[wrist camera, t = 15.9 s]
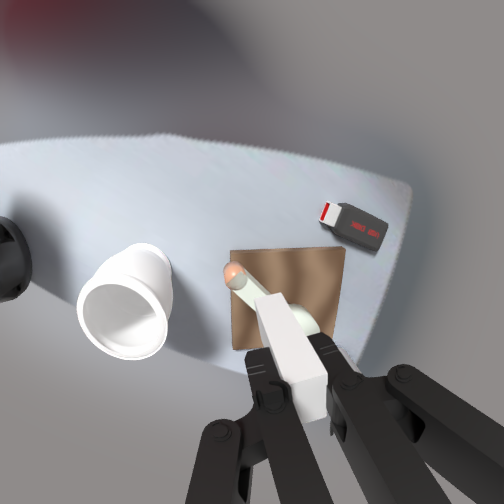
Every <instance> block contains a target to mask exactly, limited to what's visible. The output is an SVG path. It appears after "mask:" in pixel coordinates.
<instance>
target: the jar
mask: <svg viewBox="0 0 504 504" xmlns="http://www.w3.org/2000/svg"><path fill="white" fill-rule="evenodd" d="M171 275H172V271H171V265H170V262H169V260H168V258H167V257H166V255H165V254H164V253H163V252H162V251H161V250H160V249H158V248H157V247H155V246H153V245H150V244H145V243H139V244H134V245H132V246H130V247H128V248H127V249H126V250H124V251H122V252H120V253H118V254H116V255H114V256H112V257H111V258H109V259H108V260H107V261H105V262H104V263H103V264H102V265H101V266H100V268H99V269H98V270H97V271H96V273H95V275H94V276H93V278H92V279H90V280H89V281H88V282H87V283H86V284H85V285H84V286H83V288H82V290H81V292H80V294H79V296H78V300H77V316H78V319H79V323H80V325H81V327H82V329H83V331H84V333H85V334H86V336H87V337H88V338H89V339H90V340H91V341H92V343H94V344H95V345H96V346H97V347H98V348H99V349H101V350H102V351H104V352H106V353H107V354H109V355H112V356H114V357H117V358H121V359H126V360H138V359H143V358H147V357H149V356H151V355H153V354H154V353H156V352H157V351H158V350H159V349H160V348H161V347H162V345H163V344H164V342H165V339H166V336H167V330H168V319H169V317H170V314H171V310H172V305H173V287H172V280H171Z"/></svg>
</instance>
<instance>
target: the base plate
mask: <svg viewBox="0 0 504 504" xmlns="http://www.w3.org/2000/svg"><path fill="white" fill-rule="evenodd" d="M345 251H346V249H345V248H343V247H342V246H339V247H312V248H284V249H257V250H231V251H230V262H232V261H236V262H239V263H241V264H242V266H243V267H244V268H245V269H246V270H247V271H248V272H249V273H250V274H251V275H252V276H253V277H254V278H255V279H256V280H257V281H258V282H259V283H260V284H261V285H262V286H263V287H264V288H265V289H266V290H267V291H268V292H269V293H270V294H271V295H272V294H276V293H280V292H281V293H282V295H283V297H284V298H285V300H286V301H288V302H289V303H290V304H299V305H302V306H304V307H305V308H306V309H307V310H308V311H309V313H310V314H311V316H312V317H313V319H314V320H315V322H316V323H317V324H318V326H319V328H320V332H323V333H325V334H326V335H328V336H330V337H331V339H332V337H333V332H334V327H335V321H336V315H337V309H338V303H339V296H340V290H341V283H342V275H343V268H344V260H345ZM231 322H232V347H233V350H239V349H251V348H262V347H264V346H263V343H262V340H261V335H260V330H259V325H258V319H257V314H256V311H255V310H253V309H252V308H251V307H250V306H249V305H248V304H247V303H246V302H245V301H243V300H242V299H241V298H240V297H239V296H238V295H237V294H236V293H235V292H234V291H232V290H231Z"/></svg>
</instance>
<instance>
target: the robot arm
mask: <svg viewBox="0 0 504 504" xmlns="http://www.w3.org/2000/svg"><path fill="white" fill-rule="evenodd" d="M31 273H32V264H31V257H30V252H29V249H28V246H27V243H26V241H25V239H24V237H23V235H22V233H21V231H20V230H19V229H18V227H17V226H16V225H15V224H14V223H13V222H12V221H10V220H9V219H7V218H5V217H2V216H0V303H2V302H6V301H9V300H13V299H15V298H17V297H18V296H19V295H20V294H22V293H23V292H24V291H25V290H26V289H27V287H28V285H29V283H30V279H31ZM254 303H255V308H256V314H257V319H258V325H259V330H260V335H261V340H262V343H263V346H264V348H261V349H257V350H252V351H248V352H247V354H246V357H245V359H244V360H245V365H246V369H247V373H248V378H249V382H250V386H251V391H252V398H253V401H254V404H253V408H252V409H251V411H250V412H249V413H248V414H247V415H245V416H244V417H242V418H241V419H238V420H236V421H232V420H228V419H219V420H215V421H213V422H211V423H210V424H208V425H207V426H206V427H205V428H204V431H203V432H202V436H201V440H200V444H199V448H198V452H197V457H196V461H195V465H194V469H193V473H192V477H191V481H190V485H189V489H188V493H187V497H186V502H185V504H250V495H251V485H252V474H253V465H255V464H257V463H259V462H261V461H263V460H265V459H267V458H268V460H269V463H270V467H271V471H272V475H273V478H274V482H275V485H276V489H277V492H278V496H279V499H280V503H281V504H334V503H333V501H332V499H331V496H330V493H329V491H328V488H327V486H326V484H325V481H324V479H323V476H322V474H321V472H320V469H319V467H318V464H317V461H316V459H315V456H314V454H313V451H312V449H311V447H310V444H309V442H308V439H307V436H306V434H305V431H304V429H303V426H302V424H305V423H308V422H312V421H315V420H318V419H321V418H324V417H326V416H327V411H328V413H329V415H330V417H331V423H330V435H331V436H332V435H333V432H334V433H335V435H336V437H337V439H338V442H339V443H340V446H341V448H342V450H343V452H344V454H345V456H346V458H347V460H348V462H349V464H350V466H351V469H352V471H353V473H354V475H355V477H356V479H357V481H358V483H359V485H360V487H361V489H362V491H363V493H364V495H365V497H366V500H367V502H368V504H451V502H450V500H449V499H448V497H447V496H446V494H445V493H444V491H443V490H442V488H441V487H440V485H439V484H438V482H437V481H436V479H435V478H434V476H433V475H432V473H431V471H430V470H429V468H428V467H427V465H426V464H425V462H426V463H427V464H428V465H429V466H430V467H432V468H433V469H434V470H435V471H436V472H438V473H439V474H440V475H441V476H442V477H444V478H445V479H446V480H447V481H449V482H450V483H451V484H452V485H454V486H455V487H456V488H457V489H459V490H460V491H461V492H462V493H464V494H465V495H466V496H467V497H469V498H470V499H471V500H473V501H474V502H475V503H476V504H504V427H503V426H501V425H500V424H498V423H497V422H495V421H494V420H492V419H491V418H489V417H488V416H486V415H485V414H483V413H481V412H480V411H479V410H477V409H476V408H474V407H473V406H471V405H470V404H468V403H467V402H465V401H464V400H462V399H461V398H459V397H458V396H456V395H455V394H453V393H452V392H450V391H449V390H447V389H446V388H444V387H443V386H441V385H440V384H439V383H437V382H436V381H434V380H433V379H431V378H429V377H428V376H427V375H425V374H424V373H422V372H420V371H419V370H418V369H416V368H415V367H413V366H410V365H406V364H401V365H397V366H394V367H392V368H391V369H390V370H389V372H388V375H387V376H381V377H370V378H368V377H365V376H364V375H363V374H361V373H359V372H356V371H354V370H353V369H352V368H351V366H350V365H349V363H348V362H347V360H346V359H345V357H344V356H343V355H342V353H341V352H340V351H339V349H338V347H337V346H336V345H335V343H334V342H333V340H332V339H331V337H330V336H328V335H326V334H325V333H323V332H320V333H316V334H313V335H309V336H306V335H305V333H304V331H303V329H302V328H301V326H300V324H299V323H298V321H297V319H296V317H295V316H294V314H293V312H292V310H291V309H290V307H289V305H288V304H287V302H286V300H285V298H284V297H283V295H282V293H281V292H280V293H276V294H272V295H267V296H263V297H258V298H254Z"/></svg>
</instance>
